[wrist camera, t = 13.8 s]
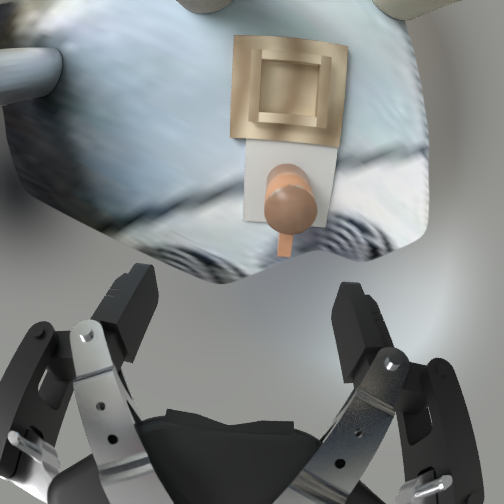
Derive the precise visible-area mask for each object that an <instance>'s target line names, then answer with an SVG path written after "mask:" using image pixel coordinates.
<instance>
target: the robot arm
mask: <svg viewBox="0 0 504 504" xmlns="http://www.w3.org/2000/svg"><path fill="white" fill-rule="evenodd" d="M61 71H62V57H61V54H60V52H59V51H58V50H57V49H55V48H10V49H0V106H2V105H6V104H10V103H14V102H18V101H23V100H28V99H33V98H38V97H43V96H46V95H47V94H49V93H50V92H51V91H52V90H53V89H54V87H55V86H56V84H57V82H58V80H59V78H60V75H61ZM158 297H159V295H158V288H157V283H156V276H155V271H154V267H153V265H148V264H140V263H136V264H135V265H134V266H133V267H132V269H131V270H130V272H129V273H128V274H127V273H124V274H123V275H121V276H120V277H119V278H117V279H116V280H115V282H114V283H113V285H112V286H111V287H110V289H109V290H108V292H107V294H106V296H105V297H104V299H103V300H102V301H101V303H100V304H99V306H98V308H97V309H96V311H95V312H94V314H93V316H92V317H91V319H90V320H84V321H81V322H79V323H77V324H76V325H75V326H74V327H73V328H72V330H71V331H55V330H54V328H53V326H52V325H51V324H50V323H49V322H45V321H43V322H38V323H36V324H34V325H33V326H32V327H31V328H30V329H29V330H28V332H27V334H26V335H25V337H24V339H23V340H22V342H21V344H20V345H19V347H18V349H17V351H16V353H15V354H14V356H13V358H12V360H11V362H10V364H9V365H8V367H7V369H6V371H5V373H4V375H3V378H2V380H1V381H0V477H1V478H3V479H5V480H7V481H9V482H11V483H14V484H16V485H18V486H20V487H21V488H22V489H24V490H26V491H27V492H29V493H30V494H32V495H33V496H35V497H37V498H39V499H40V500H42V501H43V502H46V503H47V504H386V503H384V502H383V501H382V500H381V499H380V498H379V497H378V496H377V495H375V494H374V493H373V492H372V491H371V490H370V489H369V488H368V487H366V485H365V484H363V483H362V482H361V481H360V478H361V476H362V475H363V473H364V471H365V470H366V468H367V467H368V465H369V463H370V462H371V460H372V458H373V456H374V455H375V453H376V451H377V449H378V447H379V446H380V444H381V442H382V440H383V438H384V436H385V434H386V432H387V430H388V428H389V426H390V424H391V422H392V419H393V418H394V415H395V411H396V415H397V421H398V427H399V432H400V439H401V446H402V455H403V463H404V473H405V483H404V484H403V485H402V487H401V488H400V490H399V492H398V495H397V497H396V504H483V502H484V487H483V479H482V473H481V466H480V460H479V455H478V450H477V446H476V441H475V436H474V432H473V429H472V424H471V421H470V417H469V413H468V410H467V407H466V404H465V400H464V397H463V394H462V391H461V388H460V385H459V382H458V380H457V377H456V374H455V371H454V369H453V367H452V365H450V363H449V362H447V361H446V360H444V359H442V358H434V359H432V360H431V361H430V362H429V363H428V364H427V366H426V365H421V364H417V363H412V362H409V359H408V357H407V356H406V355H405V354H404V353H403V352H402V351H401V350H399V349H397V348H394V345H393V343H392V340H391V337H390V335H389V332H388V329H387V327H386V324H385V322H384V321H383V317H382V314H380V309H379V307H378V305H377V303H376V302H375V300H374V299H373V298H372V297H371V296H370V295H365V294H364V292H363V289H362V287H361V284H360V283H357V282H356V283H355V282H342V283H341V285H340V287H339V290H338V293H337V297H336V299H335V303H334V305H333V309H332V315H331V320H332V326H333V330H334V335H335V339H336V344H337V349H338V354H339V359H340V364H341V370H342V375H343V380H344V383H353V384H354V390H353V391H352V392H351V394H350V396H349V397H348V399H347V400H346V402H345V404H344V405H343V406H342V408H341V410H340V411H339V413H338V414H337V415H336V417H335V418H334V420H333V421H332V423H331V424H330V425H329V427H328V428H327V429H326V430H325V432H324V433H323V434H322V436H321V437H320V438H319V439H317V438H315V437H313V436H312V435H310V434H308V433H306V432H303V431H300V430H297V429H294V422H293V421H257V422H251V423H245V424H237V425H226V424H223V423H220V422H217V421H214V420H212V419H209V418H206V417H203V416H201V415H198V414H194V413H188V412H182V411H177V410H172V409H167V411H166V415H165V416H158V417H153V418H149V419H146V420H144V419H143V417H142V415H141V413H140V412H139V410H138V408H137V406H136V404H135V401H134V399H133V397H132V394H131V392H130V389H129V386H128V384H127V381H126V379H125V376H124V373H123V371H122V369H121V366H122V364H123V361H126V362H130V363H133V361H134V359H135V356H136V354H137V351H138V349H139V346H140V344H141V341H142V339H143V337H144V334H145V332H146V330H147V327H148V325H149V323H150V320H151V318H152V316H153V313H154V311H155V309H156V307H157V304H158ZM45 369H47V371H48V372H47V374H46V376H45V378H44V380H43V383H42V385H41V387H40V390H39V392H38V385H39V382H40V380H41V378H42V376H43V374H44V372H45ZM73 391H74V392H75V396H76V401H77V405H78V409H79V412H80V416H81V420H82V423H83V426H84V429H85V433H86V436H87V439H88V442H89V445H90V448H91V450H92V454H90V455H89V456H87V457H86V458H84V459H82V460H81V461H79V462H78V463H76V464H74V465H72V466H71V467H69V468H67V469H66V470H64V471H62V472H61V473H59V472H58V469H59V468H60V462H59V460H58V456H57V452H56V450H55V449H54V447H55V444H56V440H57V437H58V434H59V430H60V427H61V424H62V421H63V418H64V415H65V412H66V410H67V407H68V404H69V401H70V398H71V396H72V393H73ZM428 407H429V410H428ZM429 411H430V414H429ZM430 415H431V419H432V423H431V419H430Z"/></svg>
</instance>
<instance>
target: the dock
mask: <svg viewBox="0 0 504 504" xmlns="http://www.w3.org/2000/svg"><path fill="white" fill-rule="evenodd" d="M347 57H348V46H343V45H338V44H333V43H327V42H321V41H314V40H307V39H299V38H289V37H276V36H255V35H234V48H233V68H232V91H231V118H230V138H253V139H269V140H281V141H292V142H302V143H311V144H319V145H326V146H333V147H339V145H340V137H341V128H342V119H343V110H344V99H345V87H346V74H347Z"/></svg>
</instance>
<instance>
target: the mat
mask: <svg viewBox="0 0 504 504" xmlns="http://www.w3.org/2000/svg"><path fill="white" fill-rule="evenodd" d="M337 152H338V147H333V146H326V145H319V144H311V143H302V142H292V141H281V140H269V139H253V138H246V152H245V177H244V205H243V221H254V222H267V221H266V219H265V215H264V204H265V193H266V181H267V177H268V174H269V173H270V171H271V170H272V169H273V168H275V167H276V166H278V165H281V164H293V165H296V166H298V167H300V168H301V169H302V170H303V171H304V172H305V174H306V176H307V179H308V181H309V184H310V187H311V190H312V192H313V195H314V198H315V201H316V204H317V216H316V219H315V221H314V223H313V224H312V225H311V226H314V227H326V221H327V216H328V210H329V204H330V198H331V192H332V186H333V180H334V173H335V166H336V159H337Z"/></svg>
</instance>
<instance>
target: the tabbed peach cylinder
mask: <svg viewBox="0 0 504 504" xmlns="http://www.w3.org/2000/svg"><path fill="white" fill-rule="evenodd" d="M264 215H265V219H266V221H267V223H268V224H269V225H270V226H271V227H272V228H273V229H274V230H276V231H277V232H278V241H277V256H283V257H290V256H291V249H292V241H293V234H299V233H301V232H304V231H305V230H307V229H308V228H309V227H310V226H311V225H312V224H313V223H314V221H315V219H316V216H317V204H316V201H315V198H314V195H313V192H312V190H311V187H310V184H309V181H308V179H307V176H306V174H305V172H304V171H303V170H302V169H301V168H300V167H298V166H296V165H293V164H281V165H278V166H276V167H275V168H273V169H272V170H271V171H270V173H269V174H268V177H267V181H266V193H265V204H264Z"/></svg>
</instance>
